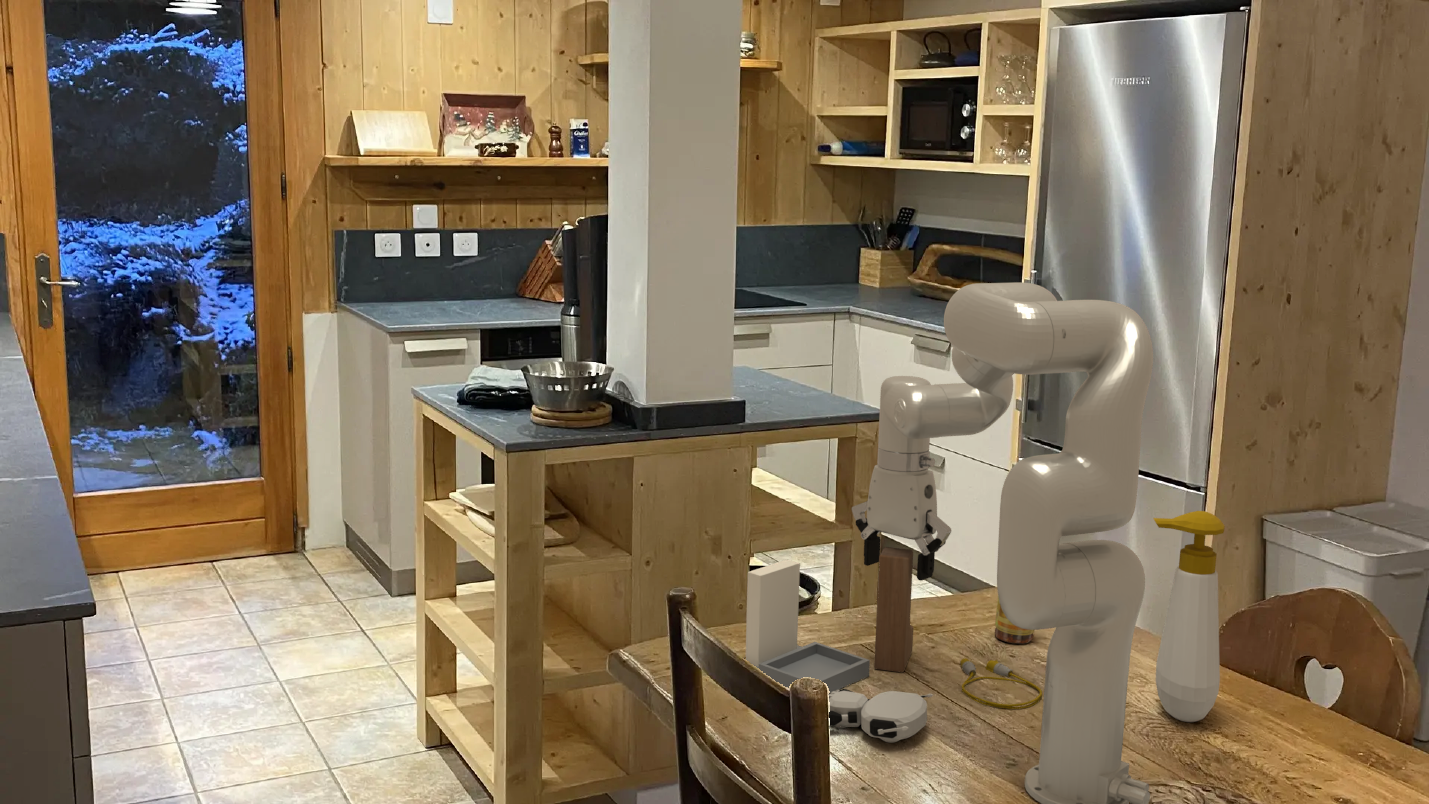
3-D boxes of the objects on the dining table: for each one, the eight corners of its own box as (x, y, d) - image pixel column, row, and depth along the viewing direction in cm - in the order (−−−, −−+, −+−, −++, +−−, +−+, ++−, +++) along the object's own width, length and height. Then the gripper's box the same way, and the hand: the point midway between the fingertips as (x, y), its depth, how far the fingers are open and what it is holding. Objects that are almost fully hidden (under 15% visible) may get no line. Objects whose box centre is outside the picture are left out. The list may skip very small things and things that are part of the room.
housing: (869, 676, 198) (873, 578, 196) (813, 700, 189) (817, 599, 186) (786, 647, 209) (789, 555, 206) (730, 669, 200) (732, 573, 197)
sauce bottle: (992, 643, 213) (999, 522, 209) (996, 630, 219) (1003, 512, 215) (1034, 648, 211) (1043, 526, 207) (1037, 634, 217) (1045, 516, 213)
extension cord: (1042, 675, 202) (1043, 662, 201) (1041, 717, 187) (1042, 703, 186) (960, 666, 204) (961, 653, 204) (953, 706, 189) (954, 693, 189)
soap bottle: (1132, 691, 195) (1148, 497, 190) (1207, 697, 193) (1225, 501, 188) (1143, 727, 182) (1160, 520, 177) (1223, 735, 181) (1243, 526, 175)
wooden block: (883, 649, 209) (888, 537, 206) (912, 652, 208) (918, 540, 205) (873, 669, 201) (878, 554, 198) (903, 673, 200) (909, 557, 196)
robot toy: (802, 742, 178) (912, 757, 172) (801, 709, 178) (911, 723, 171) (833, 708, 189) (937, 721, 183) (832, 677, 189) (937, 689, 182)
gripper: (966, 466, 196) (960, 578, 199) (871, 446, 207) (866, 553, 210) (937, 474, 190) (931, 590, 193) (841, 454, 202) (836, 563, 205)
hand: (897, 570), depth 202 cm, fingers open, 9 cm apart
